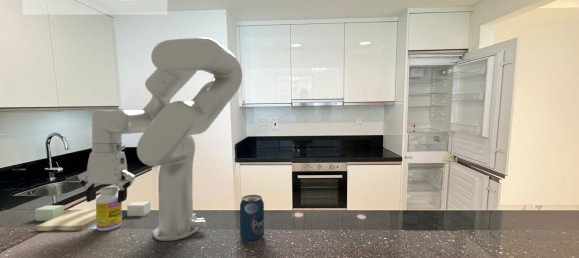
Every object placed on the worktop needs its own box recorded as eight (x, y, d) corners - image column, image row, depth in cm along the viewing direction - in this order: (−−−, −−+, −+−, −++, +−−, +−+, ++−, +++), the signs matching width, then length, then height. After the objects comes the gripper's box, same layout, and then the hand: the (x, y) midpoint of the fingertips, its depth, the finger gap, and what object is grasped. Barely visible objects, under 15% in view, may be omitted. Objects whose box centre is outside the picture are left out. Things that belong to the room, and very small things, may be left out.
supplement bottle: (108, 232, 74) (107, 191, 73) (90, 230, 75) (89, 190, 74) (127, 223, 80) (126, 185, 80) (110, 221, 81) (110, 184, 81)
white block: (150, 212, 91) (150, 201, 90) (143, 216, 87) (143, 205, 86) (134, 212, 91) (134, 201, 90) (127, 216, 87) (127, 205, 86)
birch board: (113, 213, 89) (113, 209, 89) (82, 230, 75) (82, 225, 75) (74, 213, 89) (74, 209, 89) (35, 230, 75) (35, 226, 75)
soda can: (258, 245, 66) (257, 202, 66) (235, 242, 68) (235, 200, 68) (267, 234, 73) (267, 195, 72) (246, 231, 75) (246, 193, 74)
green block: (64, 216, 86) (63, 205, 86) (53, 220, 82) (52, 209, 82) (47, 216, 86) (46, 205, 86) (35, 220, 82) (35, 209, 82)
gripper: (141, 147, 81) (140, 197, 81) (88, 146, 80) (88, 196, 81) (127, 150, 73) (126, 205, 74) (68, 148, 73) (68, 204, 73)
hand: (106, 200), depth 77 cm, fingers open, 9 cm apart
